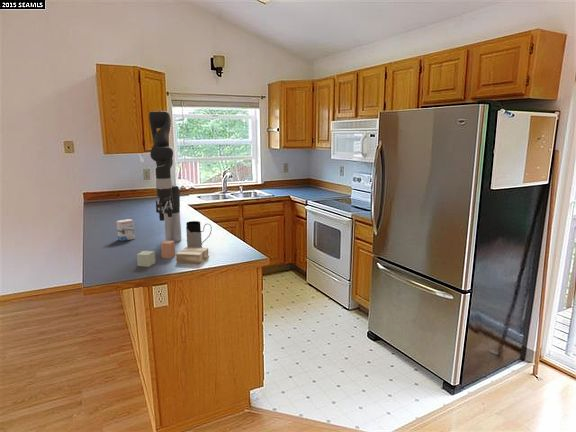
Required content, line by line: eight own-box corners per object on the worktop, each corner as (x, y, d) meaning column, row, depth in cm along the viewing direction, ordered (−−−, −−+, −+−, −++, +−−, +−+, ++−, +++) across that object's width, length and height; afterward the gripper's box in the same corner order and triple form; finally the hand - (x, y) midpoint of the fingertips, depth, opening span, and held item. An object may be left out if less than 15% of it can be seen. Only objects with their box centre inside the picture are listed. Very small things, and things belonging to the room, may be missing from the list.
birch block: (186, 256, 200) (186, 247, 198) (208, 257, 198) (208, 248, 197) (176, 263, 188) (176, 253, 187) (199, 264, 186) (199, 255, 185)
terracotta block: (166, 255, 200) (165, 240, 199) (175, 255, 199) (174, 240, 198) (161, 257, 195) (160, 243, 194) (171, 258, 195) (170, 243, 193)
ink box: (120, 241, 225) (119, 222, 223) (117, 239, 229) (115, 220, 226) (135, 238, 231) (133, 220, 229) (131, 237, 235) (130, 218, 232)
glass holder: (185, 247, 214) (184, 221, 211) (211, 244, 219) (209, 219, 216) (187, 251, 206) (186, 224, 203) (213, 249, 211) (212, 222, 208)
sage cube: (144, 262, 189) (143, 250, 188) (155, 262, 188) (154, 251, 187) (137, 266, 183) (136, 254, 182) (149, 266, 182) (148, 254, 181)
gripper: (163, 185, 197) (165, 215, 201) (149, 188, 184) (152, 221, 187) (177, 185, 196) (179, 216, 199) (164, 189, 182) (166, 222, 186)
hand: (166, 218), depth 193 cm, fingers open, 8 cm apart
